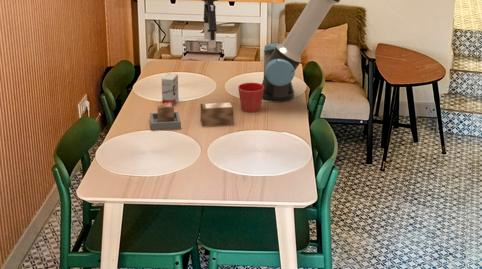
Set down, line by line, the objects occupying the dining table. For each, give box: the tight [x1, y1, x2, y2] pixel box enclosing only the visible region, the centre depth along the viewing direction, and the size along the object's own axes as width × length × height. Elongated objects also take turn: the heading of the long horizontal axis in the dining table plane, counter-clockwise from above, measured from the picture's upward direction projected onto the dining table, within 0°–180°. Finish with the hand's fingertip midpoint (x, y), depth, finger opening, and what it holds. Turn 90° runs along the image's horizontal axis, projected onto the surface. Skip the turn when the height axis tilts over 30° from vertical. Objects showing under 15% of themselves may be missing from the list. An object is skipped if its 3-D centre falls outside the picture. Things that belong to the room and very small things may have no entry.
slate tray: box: [149, 111, 182, 131], centre depth 266 cm, size 11×11×3 cm
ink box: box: [161, 72, 179, 107], centre depth 286 cm, size 9×5×12 cm, turn 168°
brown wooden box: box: [199, 102, 234, 127], centre depth 267 cm, size 12×6×7 cm, turn 100°
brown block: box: [156, 102, 175, 122], centre depth 265 cm, size 6×5×7 cm
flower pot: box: [237, 82, 264, 113], centre depth 281 cm, size 11×11×10 cm
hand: (209, 43), depth 276 cm, fingers open, 13 cm apart
